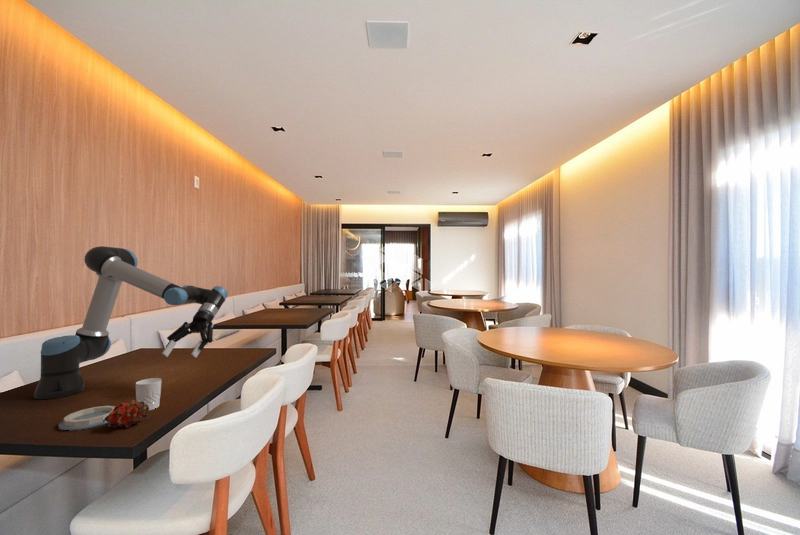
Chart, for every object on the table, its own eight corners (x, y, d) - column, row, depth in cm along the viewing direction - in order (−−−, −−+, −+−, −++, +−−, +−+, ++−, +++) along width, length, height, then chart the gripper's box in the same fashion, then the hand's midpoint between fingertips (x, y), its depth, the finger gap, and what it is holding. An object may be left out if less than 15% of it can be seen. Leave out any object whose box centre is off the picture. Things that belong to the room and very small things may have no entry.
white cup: (147, 412, 123) (147, 384, 123) (129, 411, 125) (129, 383, 125) (166, 404, 131) (166, 378, 131) (149, 403, 132) (149, 377, 133)
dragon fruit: (152, 424, 117) (106, 441, 108) (146, 405, 121) (102, 420, 113) (151, 409, 113) (104, 426, 104) (145, 390, 117) (99, 404, 109)
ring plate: (44, 429, 110) (44, 421, 110) (96, 410, 126) (96, 403, 126) (85, 432, 107) (85, 424, 107) (133, 412, 123) (133, 405, 123)
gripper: (233, 320, 157) (210, 361, 142) (185, 319, 161) (158, 359, 146) (226, 309, 152) (201, 351, 137) (176, 309, 156) (147, 349, 141)
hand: (179, 355), depth 141 cm, fingers open, 13 cm apart
